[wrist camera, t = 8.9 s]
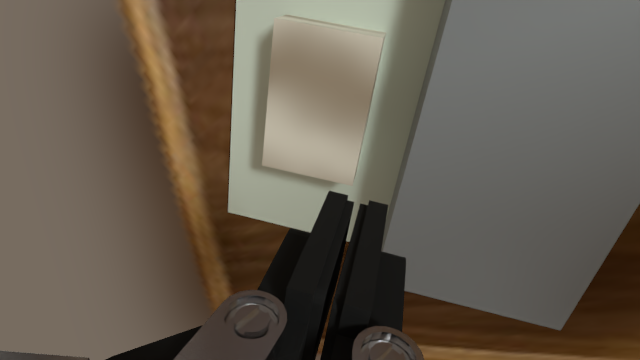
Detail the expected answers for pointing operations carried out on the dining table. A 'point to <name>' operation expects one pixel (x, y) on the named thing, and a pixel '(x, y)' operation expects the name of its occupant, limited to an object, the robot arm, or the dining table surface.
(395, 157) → the sage mat
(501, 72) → the slate deck
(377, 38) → the cream tile
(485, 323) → the dining table surface
